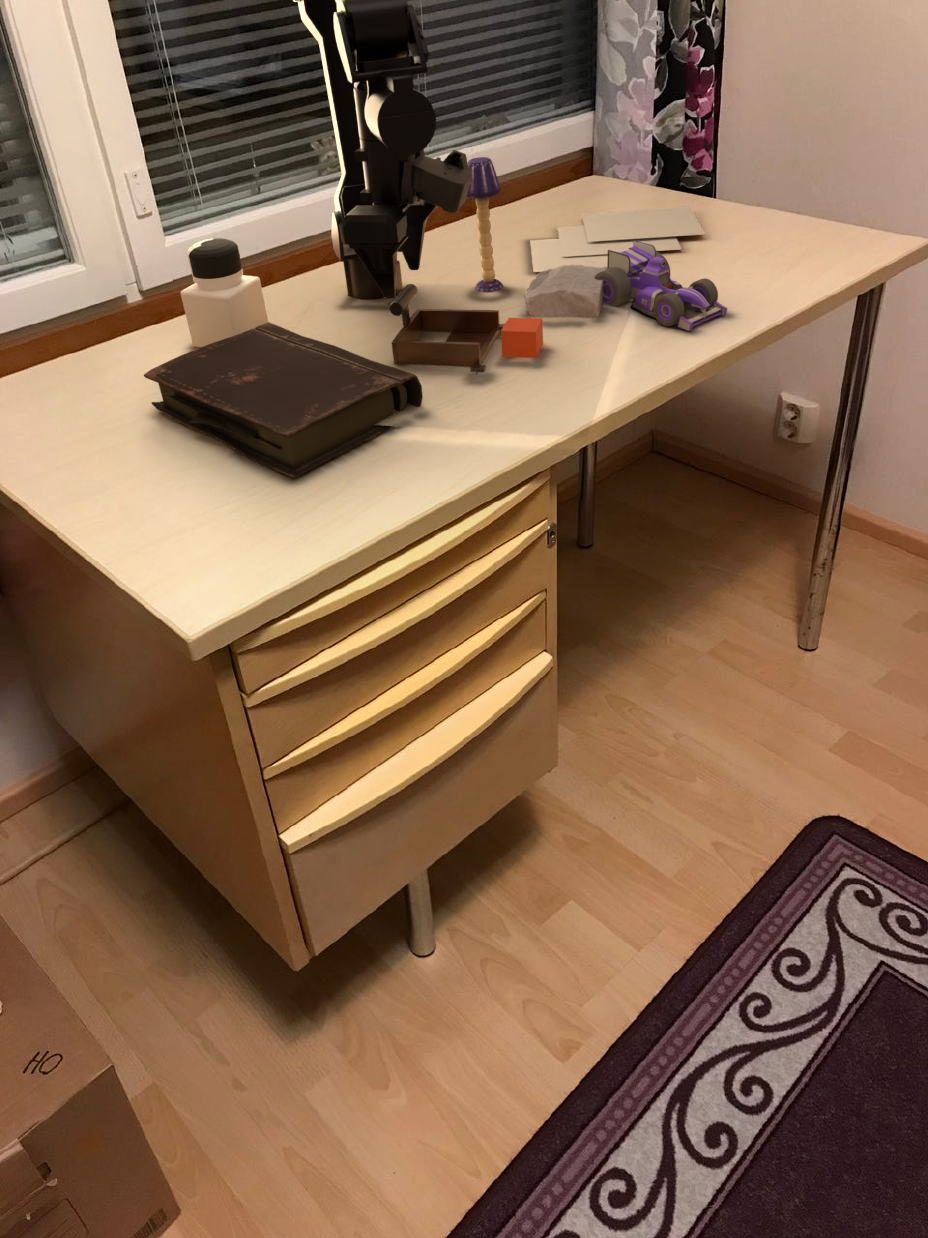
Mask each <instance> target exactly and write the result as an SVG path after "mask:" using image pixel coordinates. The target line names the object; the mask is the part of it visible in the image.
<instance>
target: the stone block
mask: <svg viewBox="0 0 928 1238" xmlns="http://www.w3.org/2000/svg"><path fill="white" fill-rule="evenodd" d="M606 269H607V267H606V266H605V267H602V268H600V267H598V268H597V267H592V266H583V265H563V266H560V267H557V268H555V269H548V270H546V271H542V272H537V274H536V275H535V278H534V279H533V280H532V281H531V283H530V284H529V285H528V288H527V290H526V292H525V293H524V299H525V309H526V310H527V313H528V316H532V317H536V318H568V317H569V318H586V319H587V318H598V317H600V314H601V310H602V306H603V303H604V302H603V292H604V286H603V284H604V282H603V280H597V279H595V278H594V277H595V275H596V274H597V273H599V272H601V271H604V270H606Z"/></svg>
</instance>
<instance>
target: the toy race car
mask: <svg viewBox="0 0 928 1238" xmlns="http://www.w3.org/2000/svg"><path fill="white" fill-rule="evenodd" d="M594 278H595V279H597V280H603V282H604V284H603V286H604V292H603V303H604V304H606V305H609V306H611V307H620V306H622V305H624V304H627V303H629V302H630V300H631V297H632V299H633V300H635V301H633V302H631V304H630V306H631V307H632V308H634V309H636V310H637V311H639V312H641V313H643V314H644V315H646V316H649V317H652V318H655V319H656V321H657V322H658V323H659V324H660V325H661V326H664V327H672V326H673V325H676V324H677V328H679V329H681V330H684V331H688V332H692V331H693V327H695V326H697V325H700V324H701V323H704V322H706V321H709V320H711V319H713V318H715V317H717V316H722V317H725V316H727V314H728V313H727V312H728V307H727V306H725V305H723V304H721V303H720V302H718V298H719V292H718V288H717V286H716V284H715V283H714V282H713V281H712V280H711V279H709V278H706V277H705V278H700V279H698V280H694V281H693V282H692V283H691V284H689V286H688V287H684V286H683V285H682V284H681V283H680V282H678V281H676V280H673V279H671V267H670V264H669V262H668V260H667V259H666V257H665V256H664V255H663V254H661V253H660V252H659V251H656V249H655V247H654V246H653V245H650V244H646V243H643V242H639V241H635V240H633V247H631V248H629V249H628V250H625V251H623V252H620V253H619V252H615V251H612V250H608V264H607V269H606V270H604V271H601V272H599V273H597V274H596V275H595V277H594ZM685 311H689V312H691V311H697V312H701V314H699V315H696V316H694V317H692V318H688V319H687V318H685V317H684V315H685Z"/></svg>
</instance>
